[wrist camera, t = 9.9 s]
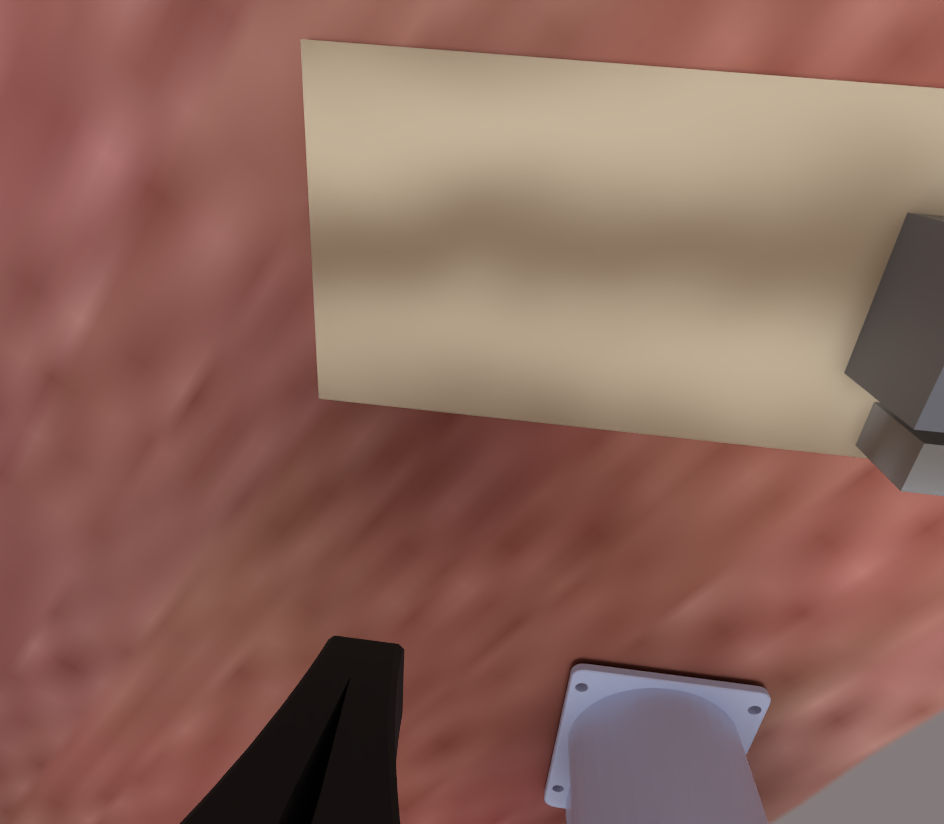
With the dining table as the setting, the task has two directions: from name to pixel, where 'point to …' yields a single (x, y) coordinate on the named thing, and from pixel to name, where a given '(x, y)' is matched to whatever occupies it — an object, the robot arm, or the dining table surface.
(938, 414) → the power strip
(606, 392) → the mount
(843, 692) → the dining table surface
